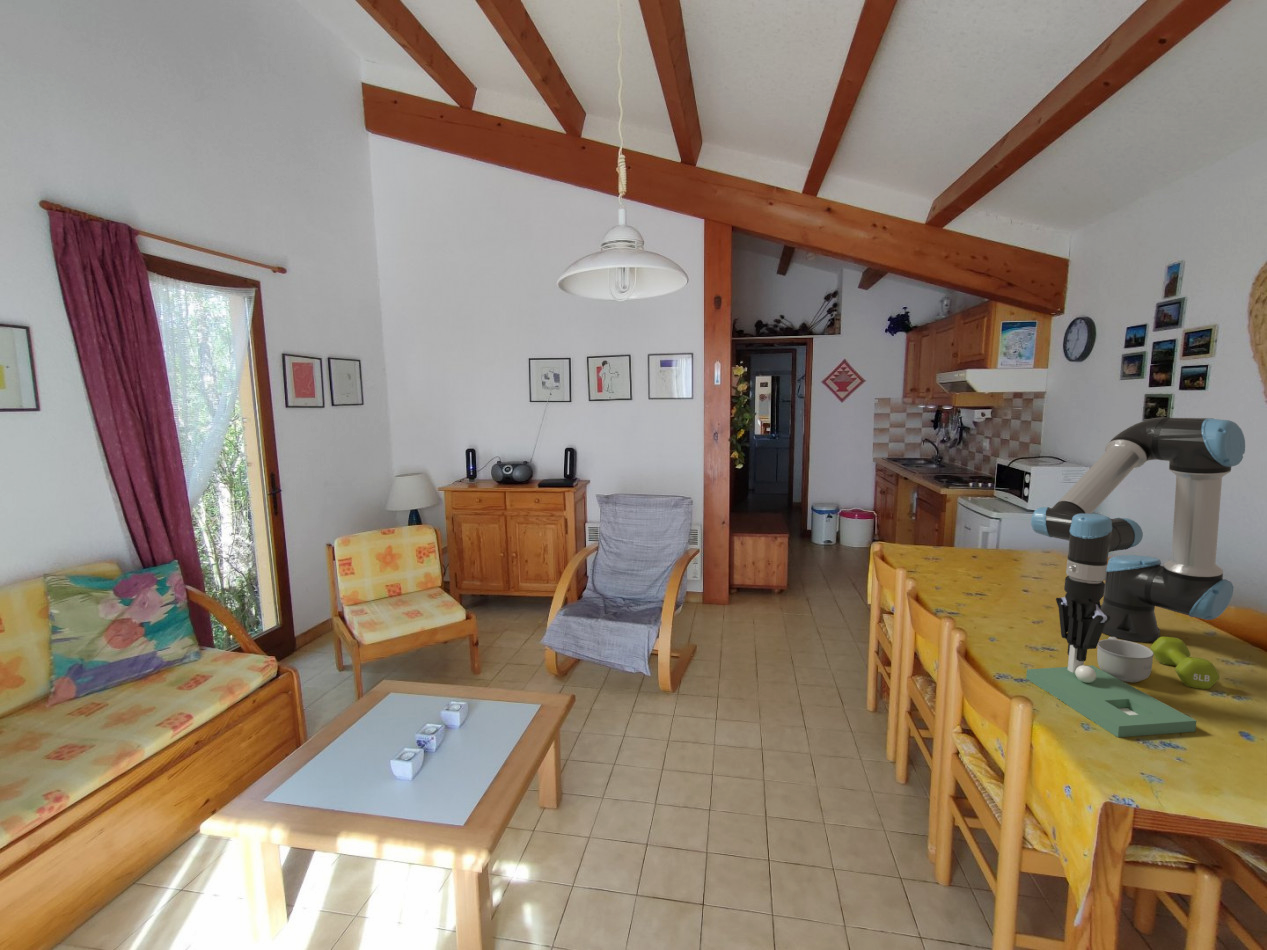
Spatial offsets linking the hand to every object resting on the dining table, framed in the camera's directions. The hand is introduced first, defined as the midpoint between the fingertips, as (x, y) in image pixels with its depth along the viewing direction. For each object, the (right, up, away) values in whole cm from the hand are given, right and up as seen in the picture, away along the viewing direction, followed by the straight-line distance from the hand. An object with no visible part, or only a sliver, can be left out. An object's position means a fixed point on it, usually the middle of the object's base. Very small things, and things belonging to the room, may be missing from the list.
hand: (1075, 670), depth 141 cm
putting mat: (+1, -5, -7) cm, 9 cm away
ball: (0, 0, -3) cm, 3 cm away
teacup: (+16, -3, +6) cm, 18 cm away
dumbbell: (+31, -3, +6) cm, 32 cm away
